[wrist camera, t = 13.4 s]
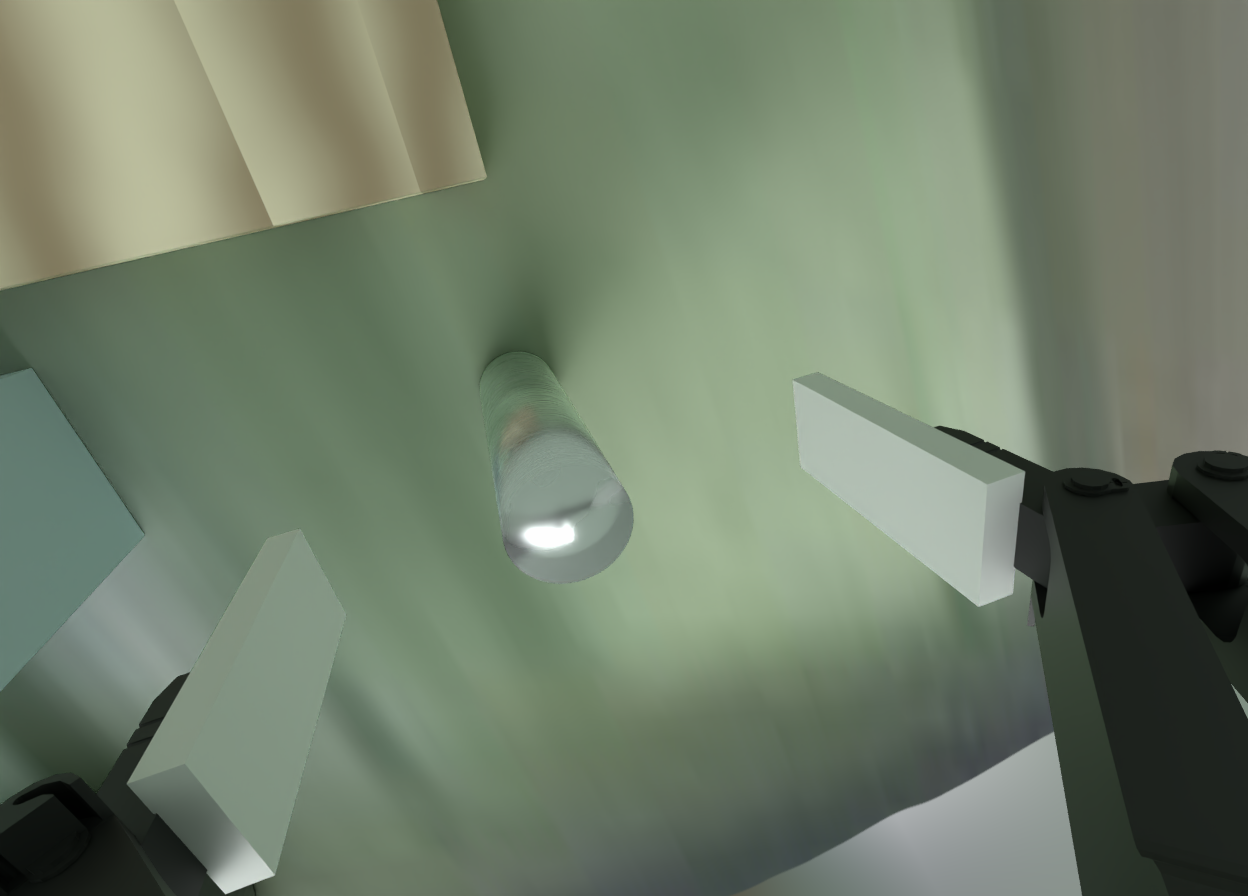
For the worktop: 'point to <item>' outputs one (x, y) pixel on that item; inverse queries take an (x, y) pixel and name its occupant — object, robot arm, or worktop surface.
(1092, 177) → the worktop surface
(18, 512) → the block
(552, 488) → the peg
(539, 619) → the worktop surface
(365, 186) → the board
